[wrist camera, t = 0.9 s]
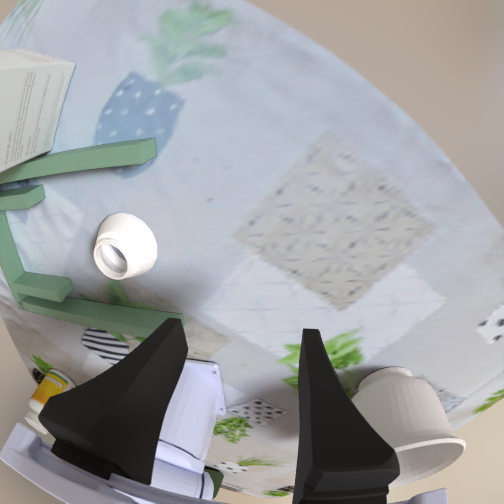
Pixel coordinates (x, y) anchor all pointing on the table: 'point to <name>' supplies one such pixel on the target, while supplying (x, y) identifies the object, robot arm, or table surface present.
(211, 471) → the character mug
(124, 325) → the green frame
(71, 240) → the table surface
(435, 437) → the teacup
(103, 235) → the white jar
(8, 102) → the supplement box
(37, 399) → the supplement bottle
